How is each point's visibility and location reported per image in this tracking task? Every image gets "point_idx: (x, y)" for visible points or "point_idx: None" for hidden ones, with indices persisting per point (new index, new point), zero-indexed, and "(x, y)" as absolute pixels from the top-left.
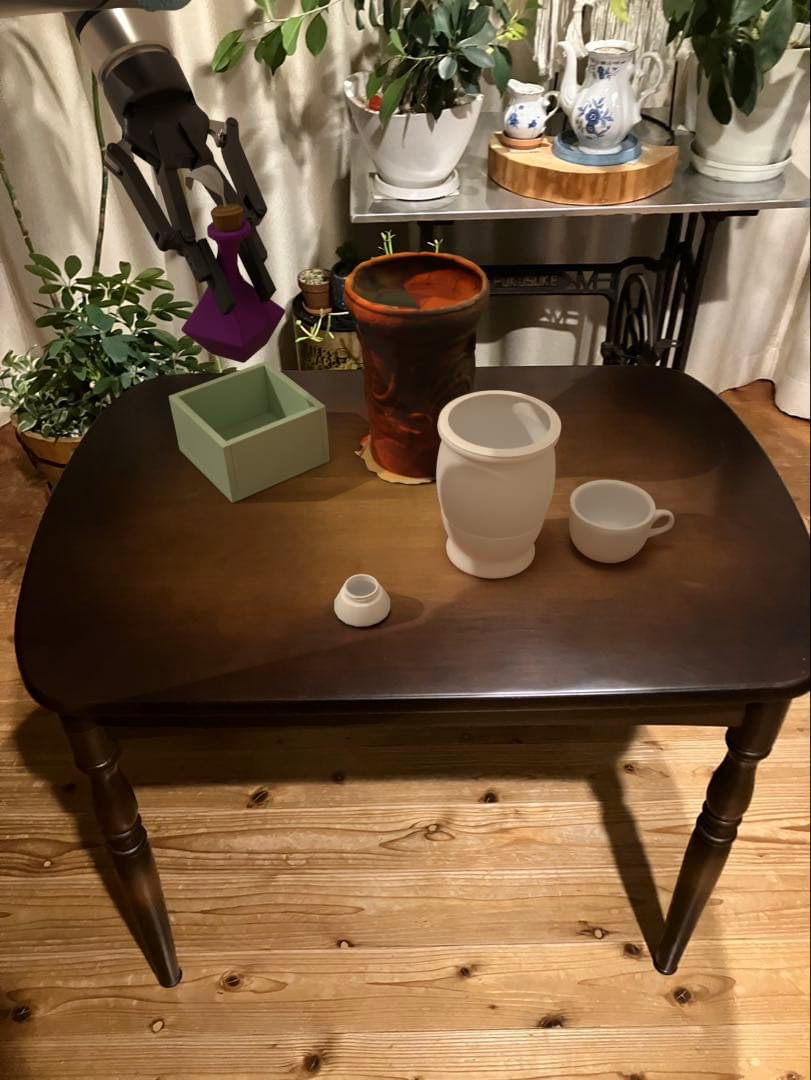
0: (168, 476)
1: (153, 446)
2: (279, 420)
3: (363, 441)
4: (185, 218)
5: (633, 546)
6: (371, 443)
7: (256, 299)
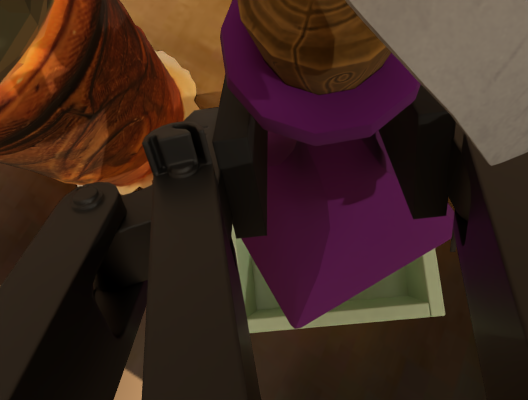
0: (456, 247)
1: (453, 338)
2: None
3: None
4: (513, 179)
5: None
6: None
7: (269, 143)
